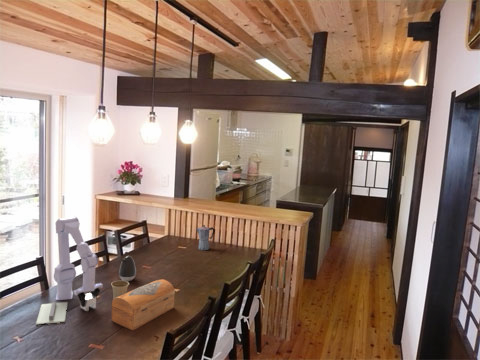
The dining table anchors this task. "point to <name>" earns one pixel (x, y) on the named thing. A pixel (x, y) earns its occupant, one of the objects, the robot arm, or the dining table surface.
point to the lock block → (89, 302)
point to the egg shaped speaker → (127, 269)
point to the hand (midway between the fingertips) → (88, 304)
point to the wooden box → (143, 304)
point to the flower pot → (119, 288)
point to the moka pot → (204, 237)
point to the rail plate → (56, 316)
